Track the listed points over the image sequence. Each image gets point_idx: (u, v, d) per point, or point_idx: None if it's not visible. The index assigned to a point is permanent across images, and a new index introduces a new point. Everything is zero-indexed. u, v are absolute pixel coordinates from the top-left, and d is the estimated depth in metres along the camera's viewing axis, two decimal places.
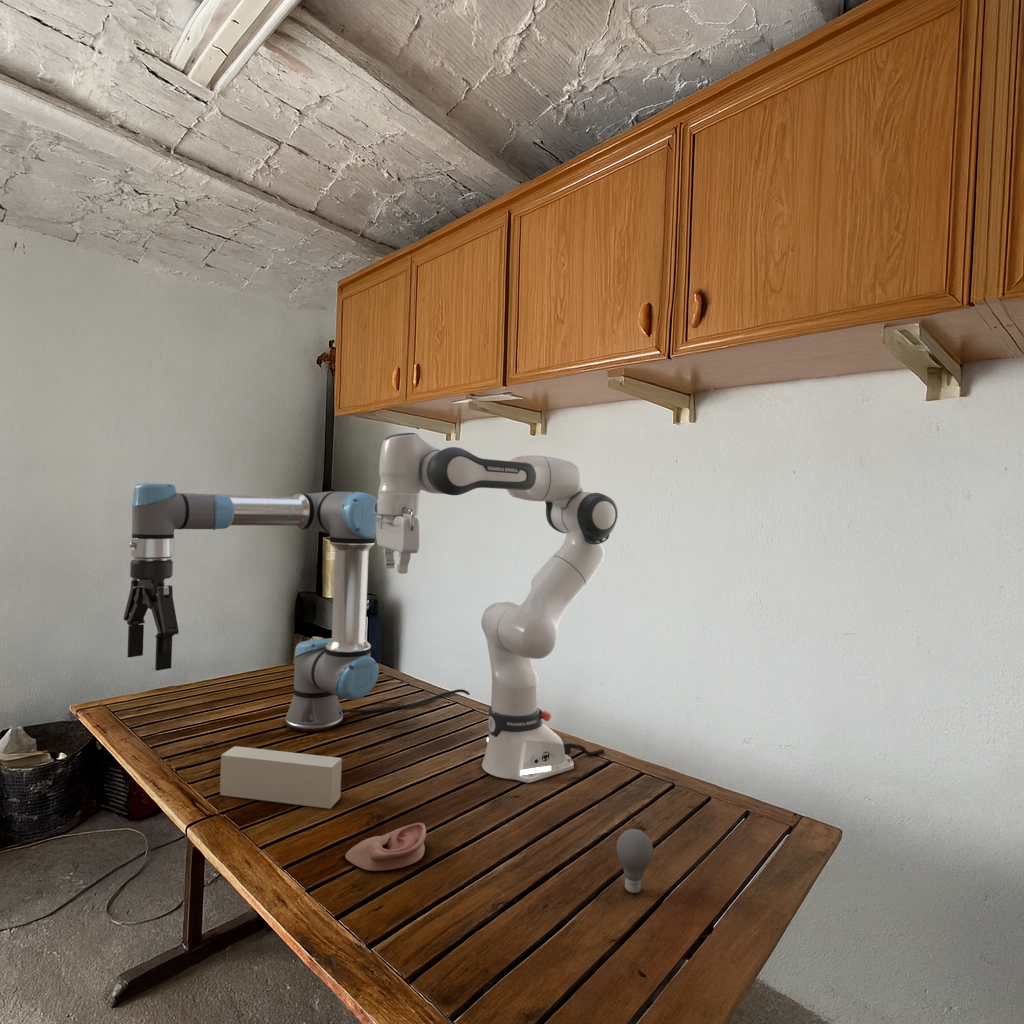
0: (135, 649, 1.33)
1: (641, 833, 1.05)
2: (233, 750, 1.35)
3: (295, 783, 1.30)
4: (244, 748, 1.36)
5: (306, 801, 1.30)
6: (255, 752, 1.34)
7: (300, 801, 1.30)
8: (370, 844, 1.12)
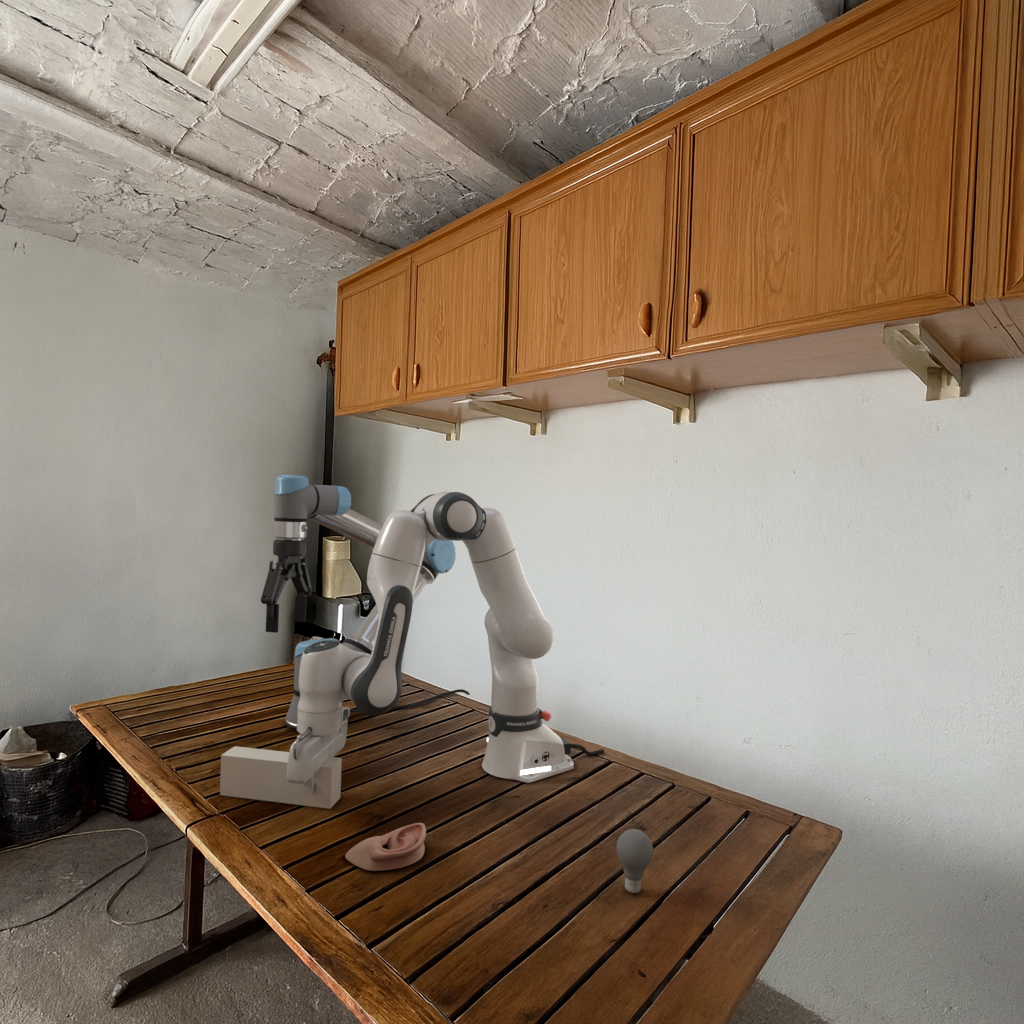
0: None
1: (641, 833, 1.05)
2: (233, 750, 1.35)
3: (295, 783, 1.30)
4: (244, 748, 1.36)
5: (306, 801, 1.30)
6: (255, 752, 1.34)
7: (300, 801, 1.30)
8: (370, 844, 1.12)
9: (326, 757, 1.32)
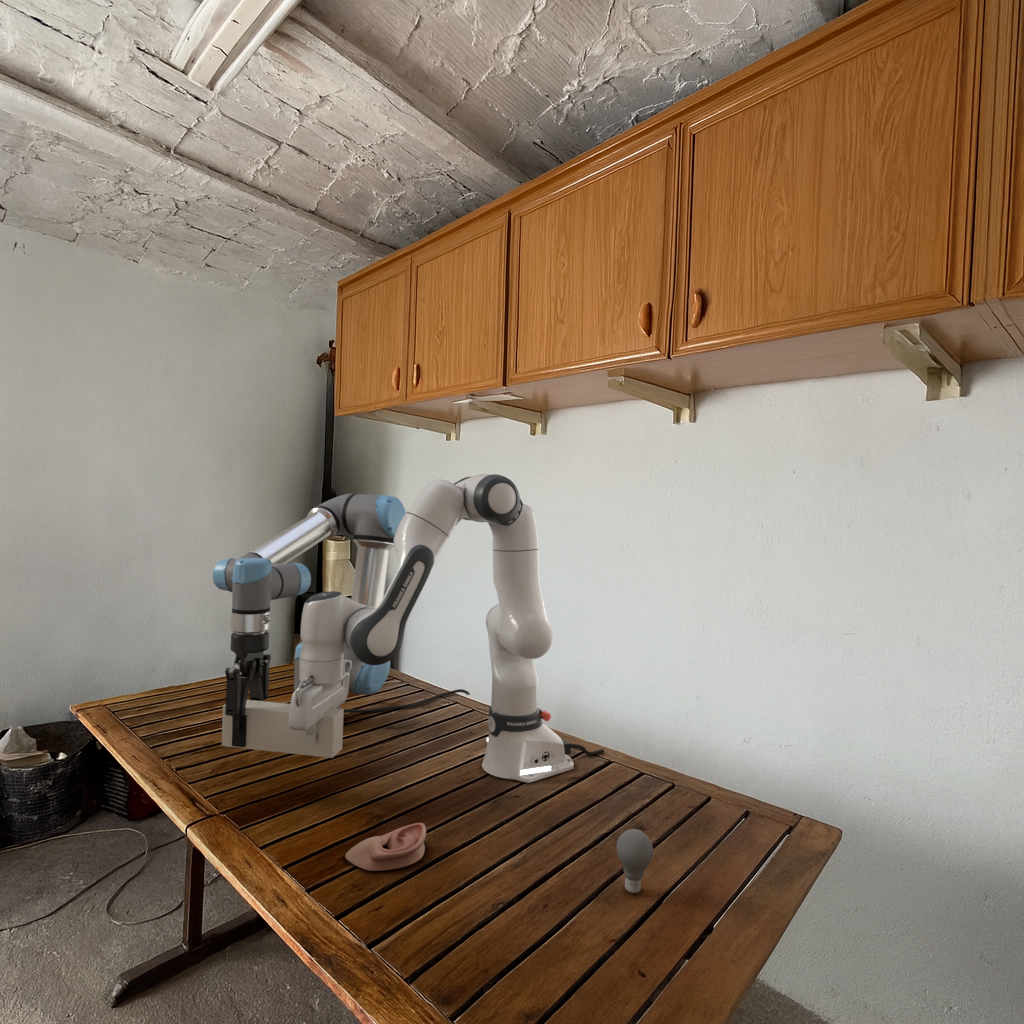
0: None
1: (641, 833, 1.05)
2: None
3: (297, 732, 1.30)
4: None
5: (308, 751, 1.29)
6: (257, 704, 1.34)
7: (302, 750, 1.30)
8: (370, 844, 1.12)
9: (328, 707, 1.31)
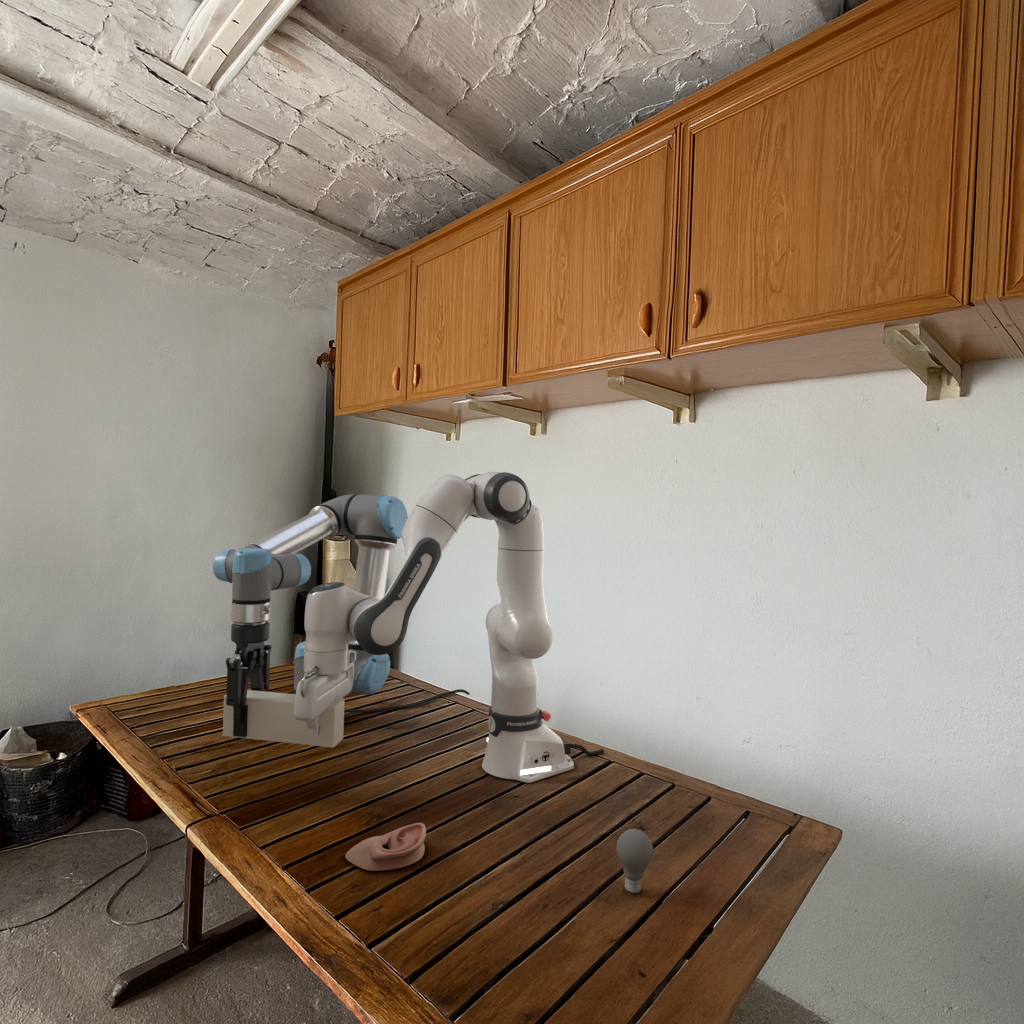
0: None
1: (641, 833, 1.05)
2: None
3: (298, 722, 1.30)
4: (247, 690, 1.36)
5: (309, 740, 1.30)
6: (258, 694, 1.34)
7: (303, 740, 1.30)
8: (370, 844, 1.12)
9: (333, 698, 1.31)
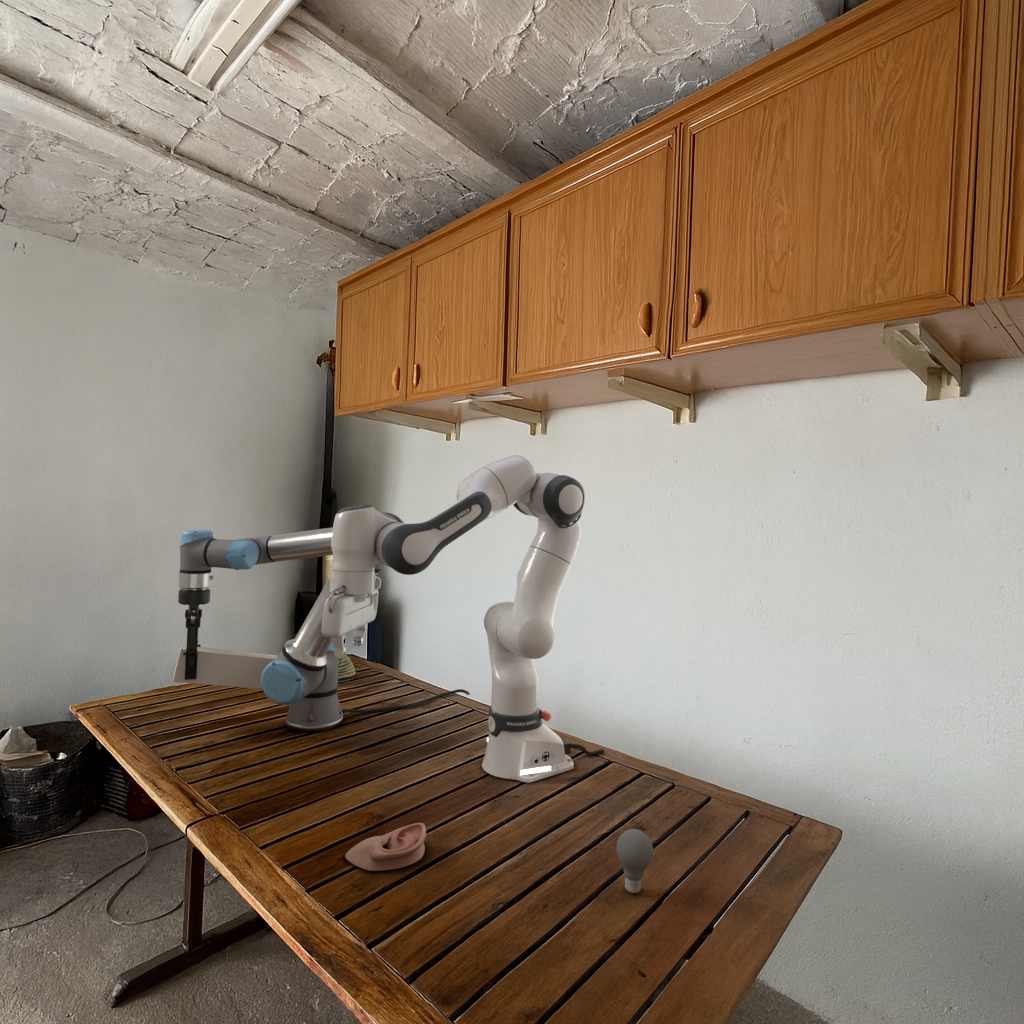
0: None
1: (641, 833, 1.05)
2: (185, 647, 1.67)
3: (245, 671, 1.71)
4: None
5: (252, 685, 1.72)
6: (206, 649, 1.69)
7: (247, 684, 1.71)
8: (370, 844, 1.12)
9: (359, 621, 1.30)
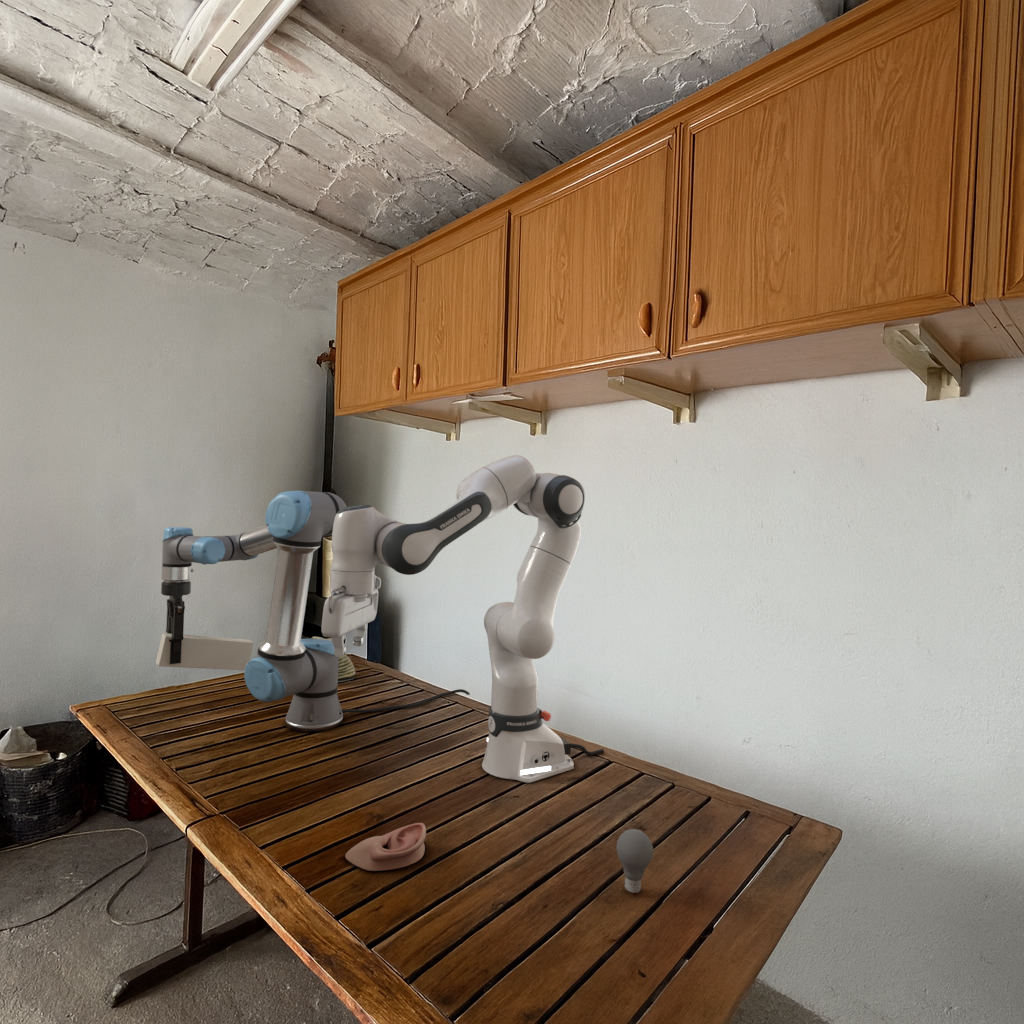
0: None
1: (641, 833, 1.05)
2: (168, 634, 1.82)
3: (224, 654, 1.89)
4: None
5: (230, 666, 1.90)
6: (187, 636, 1.85)
7: (225, 666, 1.89)
8: (370, 844, 1.12)
9: (359, 621, 1.30)
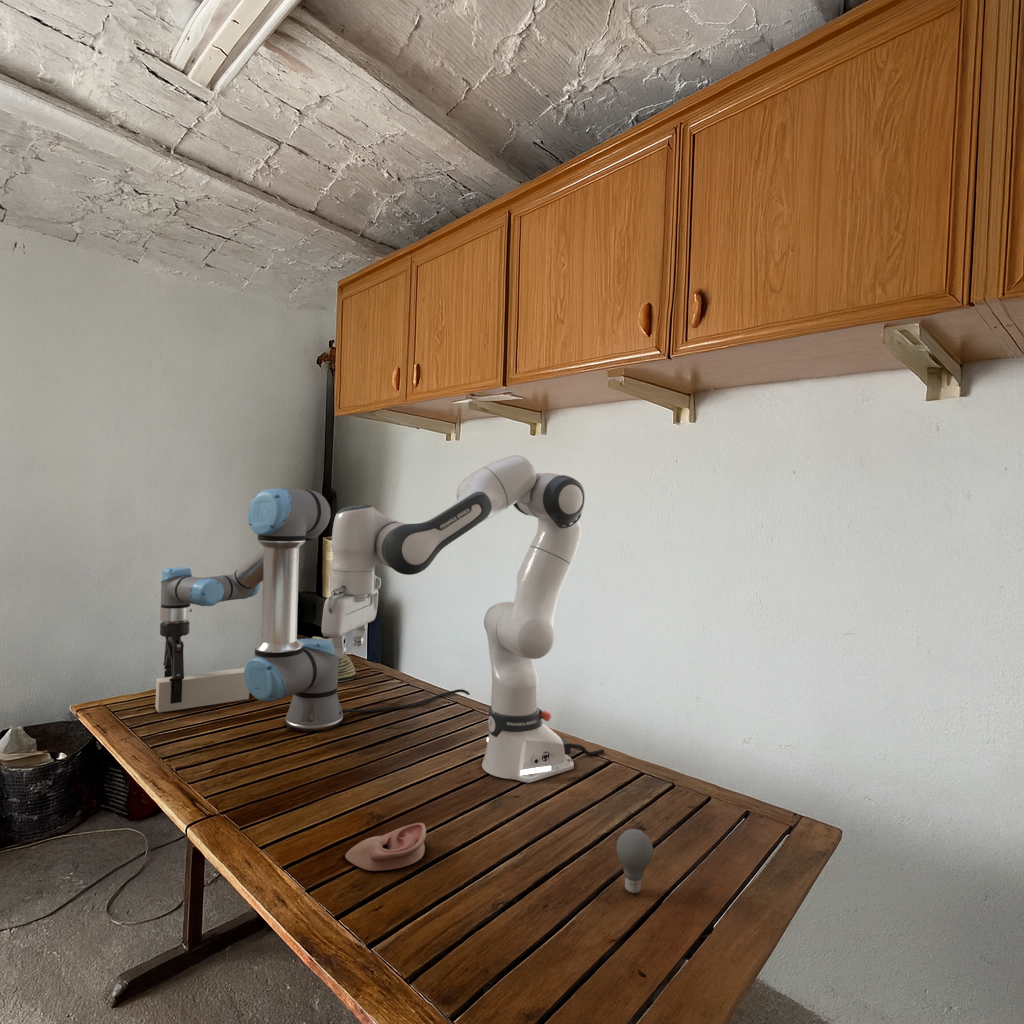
0: None
1: (641, 833, 1.05)
2: (161, 679, 1.82)
3: (222, 688, 1.89)
4: (167, 677, 1.84)
5: (230, 698, 1.91)
6: None
7: (226, 699, 1.90)
8: (370, 844, 1.12)
9: (359, 621, 1.30)
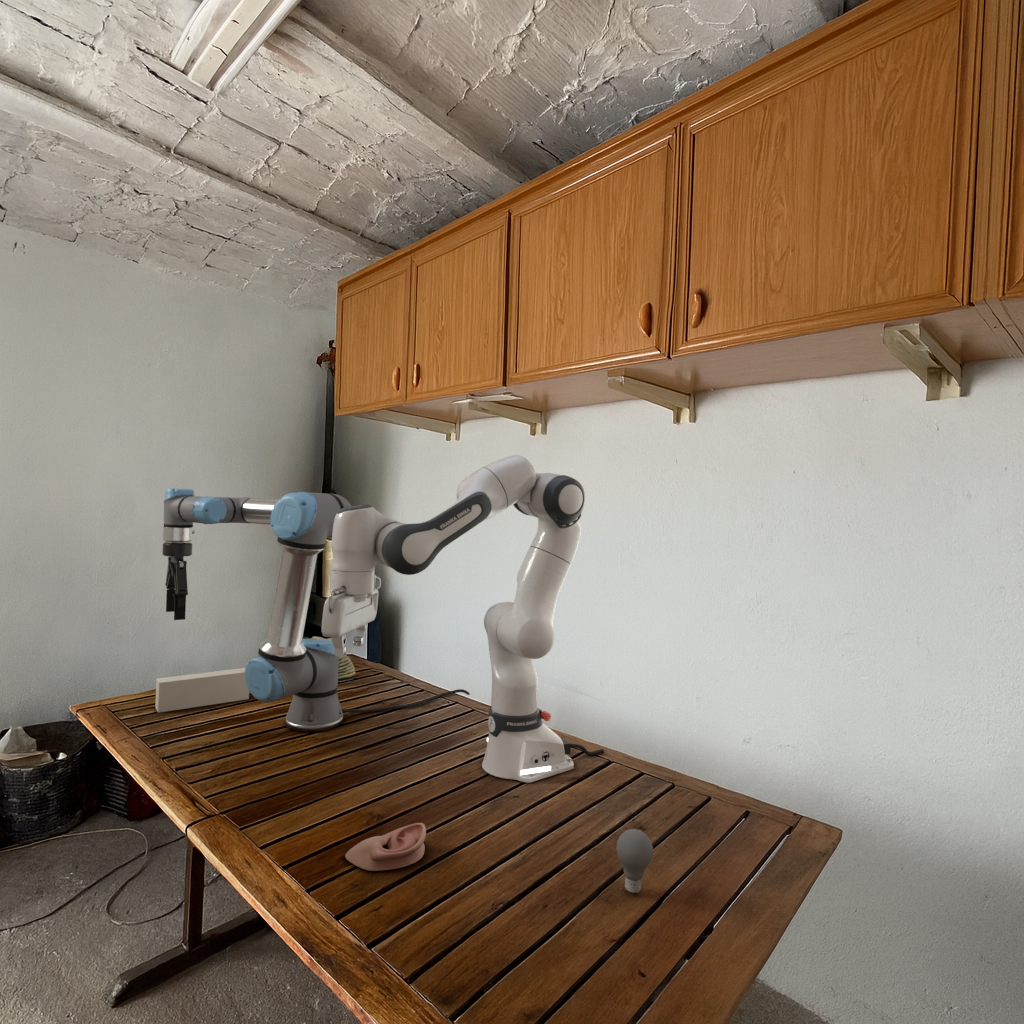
0: None
1: (641, 833, 1.05)
2: (161, 679, 1.82)
3: (222, 688, 1.89)
4: (167, 677, 1.84)
5: (230, 698, 1.91)
6: (181, 677, 1.85)
7: (226, 699, 1.90)
8: (370, 844, 1.12)
9: (359, 621, 1.30)
